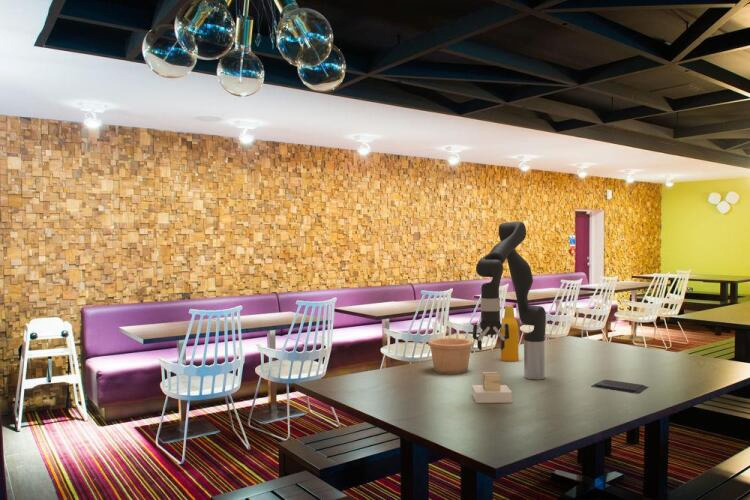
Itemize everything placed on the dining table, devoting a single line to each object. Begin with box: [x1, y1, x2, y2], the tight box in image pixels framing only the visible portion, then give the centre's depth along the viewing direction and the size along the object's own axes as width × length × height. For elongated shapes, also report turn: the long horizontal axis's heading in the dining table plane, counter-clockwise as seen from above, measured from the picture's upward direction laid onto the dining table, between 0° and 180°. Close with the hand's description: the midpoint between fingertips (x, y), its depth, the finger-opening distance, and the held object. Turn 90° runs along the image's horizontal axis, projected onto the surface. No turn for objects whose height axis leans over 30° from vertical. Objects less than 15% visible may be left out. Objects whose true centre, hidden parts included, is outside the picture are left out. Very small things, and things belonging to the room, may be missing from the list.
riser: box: [471, 384, 513, 404], centre depth 228 cm, size 12×14×4 cm
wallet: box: [590, 379, 650, 395], centre depth 243 cm, size 20×2×15 cm
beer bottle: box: [500, 305, 520, 362], centre depth 304 cm, size 9×9×29 cm
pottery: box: [427, 337, 474, 375], centre depth 280 cm, size 22×22×14 cm
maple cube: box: [482, 371, 501, 391], centre depth 228 cm, size 6×6×6 cm
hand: (491, 349), depth 227 cm, fingers open, 8 cm apart
